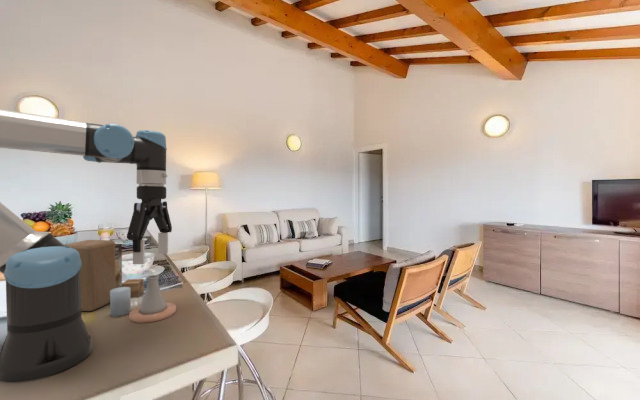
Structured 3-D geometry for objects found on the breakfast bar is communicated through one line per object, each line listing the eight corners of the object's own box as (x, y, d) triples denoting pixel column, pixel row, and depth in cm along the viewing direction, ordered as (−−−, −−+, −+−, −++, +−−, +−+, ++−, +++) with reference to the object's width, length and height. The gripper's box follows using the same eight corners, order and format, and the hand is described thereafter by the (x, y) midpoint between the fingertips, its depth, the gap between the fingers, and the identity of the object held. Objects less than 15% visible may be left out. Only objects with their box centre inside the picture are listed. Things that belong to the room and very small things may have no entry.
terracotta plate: (164, 322, 83) (164, 318, 83) (119, 323, 82) (119, 318, 82) (182, 305, 95) (182, 302, 95) (143, 306, 94) (143, 302, 94)
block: (117, 300, 99) (116, 239, 98) (91, 312, 89) (90, 245, 88) (89, 299, 100) (88, 239, 99) (60, 311, 90) (59, 244, 89)
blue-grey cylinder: (124, 316, 87) (123, 292, 86) (106, 316, 87) (106, 292, 86) (134, 309, 92) (133, 286, 91) (117, 309, 92) (117, 286, 91)
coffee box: (107, 293, 105) (106, 248, 104) (88, 294, 105) (87, 248, 104) (122, 285, 114) (122, 243, 114) (105, 285, 114) (104, 243, 113)
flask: (132, 313, 86) (132, 278, 86) (153, 304, 93) (152, 272, 92) (153, 316, 84) (152, 281, 84) (172, 306, 91) (172, 274, 90)
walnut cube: (138, 297, 102) (138, 283, 102) (121, 298, 101) (121, 283, 101) (143, 292, 107) (143, 278, 107) (128, 293, 106) (127, 279, 106)
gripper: (140, 184, 75) (141, 269, 75) (182, 186, 100) (182, 250, 100) (110, 184, 75) (110, 269, 75) (159, 186, 100) (159, 249, 100)
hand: (151, 258), depth 88 cm, fingers open, 13 cm apart
